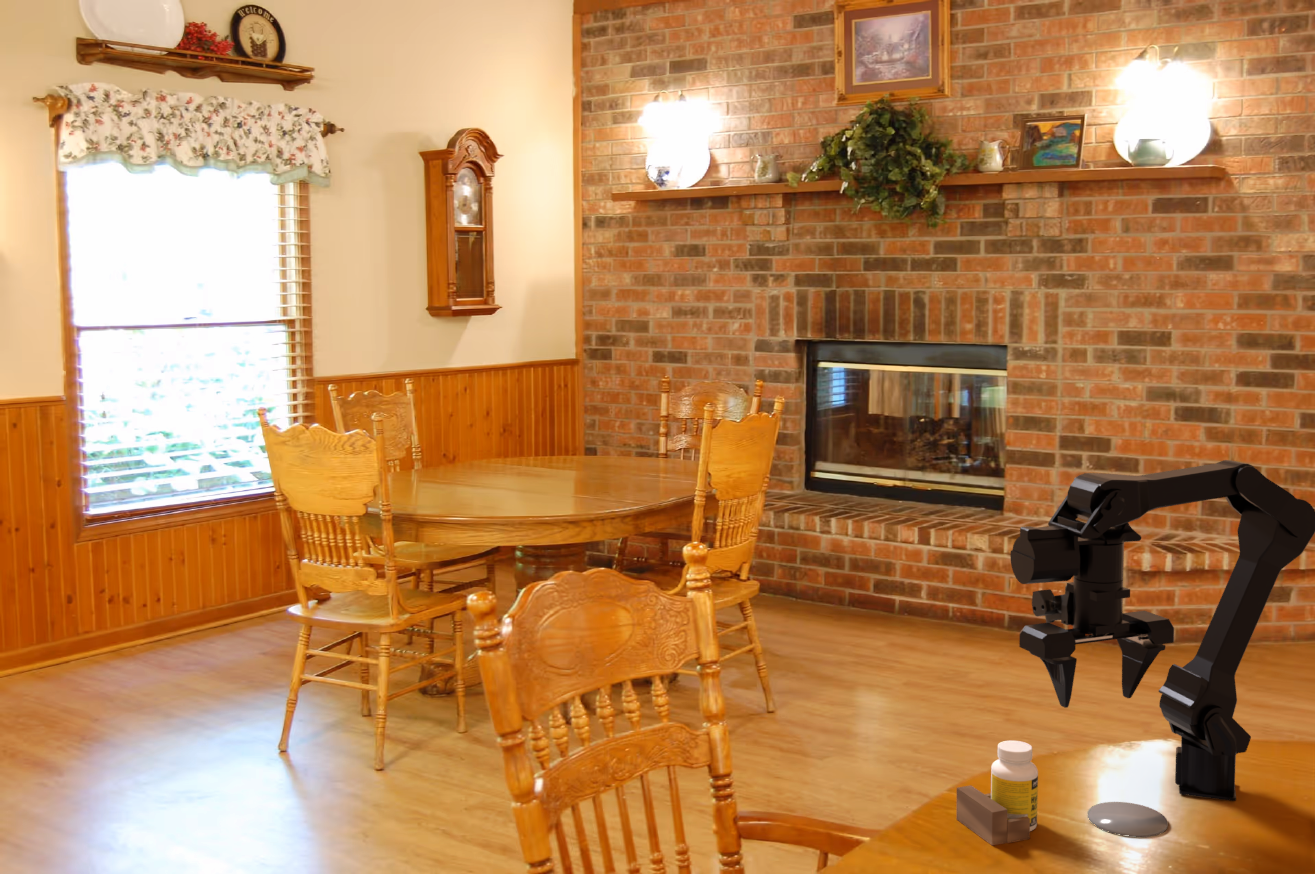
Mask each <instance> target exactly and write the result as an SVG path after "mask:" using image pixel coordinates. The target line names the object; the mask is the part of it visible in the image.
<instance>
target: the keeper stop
mask: <svg viewBox="0 0 1315 874" xmlns="http://www.w3.org/2000/svg"><path fill="white" fill-rule="evenodd" d="M956 820H957V821H958V822H960V823H961V824H962V825H964V826H965V827H966V828H968V829H969V830H970V831H972V832H973V833H974V834H976V835H977V836H979V838H981V839H983V840H984V841H985V842H987V843H988V844H990V846H997V845H1002V844H1003V845H1004V844H1010V843H1015V842H1019V841H1026V840H1030V834H1031V833H1030V832H1031V831H1030V818H1028V817H1027V816H1026V817H1021V818H1015V819H1010V820H1007V809H1005V808H1004V807H1002V806H1001V805H1000V804H998V803H997V802H995V801H994V800H992V799H991V792H990V793H983V792H982V791H980V790H978V789H977V788H975V787H974V786H973V785H965V786H964V785H963V786H960V787H959V786H957V787H956Z"/></svg>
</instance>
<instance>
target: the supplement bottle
mask: <svg viewBox="0 0 1315 874" xmlns="http://www.w3.org/2000/svg"><path fill="white" fill-rule="evenodd" d="M997 758H998V759H996V760H995V761H993V762H992V763H991V767H990V769H991V771H990V774H991V775H990V793H991V799H992V800H994V801H995V802H997V803H998V804H1000V805H1001V806H1002V807H1004V808H1005V809H1007V820H1010V819H1015V818H1021V817H1026V816H1027V817H1028V818H1030V832H1032V831H1033V830H1035V829H1036V828H1037V825H1038V797H1039V796H1038V791H1039V789H1038V788H1039V787H1038V786H1039V770H1038V767H1037V766H1036V764H1035V763H1033V762H1032V760H1033V746H1032V745H1031V744H1030V743H1027V742H1025V741H1022V740H1021V741H1020V740H1010V739H1009V740H1004V741H1001V742H999V743H998V744H997Z"/></svg>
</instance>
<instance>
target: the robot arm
mask: <svg viewBox="0 0 1315 874" xmlns="http://www.w3.org/2000/svg"><path fill="white" fill-rule="evenodd" d="M1221 498H1225V500H1226V502H1227V503H1228V505H1229V506H1230V507H1231V508H1232V509H1233V510H1234V511H1235V512H1236V513H1238V514H1239V515H1240V520H1239V524H1238V528H1237V538H1238V548H1239V556H1238V558H1237V560H1236V562H1235V565H1234V566H1233V567H1234V568H1233V569H1232V571H1231V574H1230V576H1229V578H1228V581H1227V584H1226V586H1225V588H1224V590H1223V592H1222V594H1221V597H1220V599H1219V601H1218V604H1217V606H1216V609H1215V611H1214V613H1213V616H1212V618H1211V620H1210V622H1209V625H1208V627H1207V630H1206V631H1205V634H1204V636H1203V638H1202V641H1201V642H1200V644H1199V647H1198V649H1197V651H1196V653H1195V656H1194V657H1193V658H1192V659H1191V660H1190V661H1189V662H1188V663H1186V664H1184V666H1183V667H1182V666H1179V665H1177V664H1175V663H1173V664H1172V665H1171V666H1170V667H1169V669H1168V672H1167V675H1166V679H1165V681H1164V683H1163V685H1162V686H1161V687H1160V689H1158V693H1160V694H1161V696H1160V700H1159V708H1160V710H1161V714H1162V716H1163V718H1164V719H1165V720H1166V721H1167V722H1168V724H1169V726H1170V730H1171V733H1173V734H1175V735H1178V736H1180V737H1181V739H1180V740H1181V741H1180V742H1181V743H1180V746H1176V747H1175V769H1174V770H1175V776H1174V778H1175V779H1174V781H1175V782H1174V783H1175V784H1176V785H1178V794H1179V795H1182V796H1191V797H1198V798H1204V799H1205V798H1207V799H1214V800H1221V801H1230V802H1235V801H1236V800H1237V795H1236V794H1237V793H1236V785H1235V784H1236V781H1235V780H1236V758H1237V757H1236V756H1237V755H1238V754H1241V753H1246V752H1247V751H1248V747H1249V745H1250V742H1251V738H1252V737H1251V734H1249V733H1248V731H1247V730H1245V729H1244V728H1243V727H1242V726H1241V725H1240V723H1238V722H1237V720H1235V719H1234V718H1233V717H1234V714H1235V711H1236V707H1237V703H1238V697H1237V688H1236V687H1237V686H1236V679H1235V678H1236V672H1237V670H1238V669H1239V665H1240V664H1241V662H1242V659H1243V657H1244V655H1245V652H1246V650H1247V648H1248V645H1249V643H1250V641H1251V638H1252V636H1253V634H1254V632H1255V630H1256V627H1257V626H1258V623H1259V621H1260V618H1261V616H1262V613H1263V612H1264V609H1265V607H1266V604H1267V602H1268V599H1269V598H1270V595H1271V593H1272V591H1273V588H1274V586H1275V584H1276V582H1277V579H1278V577H1279V576H1280V575H1279V574H1280V572H1281V571H1282V570H1283V569H1284V568H1285V567H1287V566H1288V565H1289V564H1290V563H1292V562H1293V561H1294V560H1296V558H1298V557H1300V555H1302V554H1303V553H1304V551H1305V550H1306V548H1307V546H1308V545H1309V543H1310V542H1311V540H1312V538H1313V537H1314V535H1315V508H1314V507H1313V505H1312V504H1311V503H1309V502H1308V501H1307V500H1304V499H1301V498H1297V497H1295V495H1293V494H1292V493H1291V492H1289V491H1287V490H1285V488H1283V487H1281V486H1280V485H1278V484H1277V483H1275V482H1274V481H1272V480H1271V479H1269V478H1267V477H1266V476H1265V475H1264V474H1263V473H1262V472H1260V470H1258V468H1256V467H1255V466H1254V465H1252V464H1251V463H1245V462H1241V461H1237V460H1232V459H1224V460H1221V461H1219V462H1216V463H1211V464H1205V465H1199V466H1192V467H1187V468H1186V467H1185V468H1180V469H1172V470H1166V471H1160V472H1155V473H1148V474H1142V475H1130V474H1129V475H1127V474H1120V473H1101V472H1100V473H1098V472H1084V473H1082V474H1078V475H1077V476H1075V477H1074V478H1073V482H1072V483H1070V485H1069V488H1068V491H1067V495H1066V496H1065V497H1064V499H1063V501H1062V502H1061V504H1060V505H1059V507H1058V508H1057V509H1056V511H1054V514H1053V516H1052V517H1051V518H1050V520H1049V521H1048V523H1047V524H1048V526H1038V527H1037V526H1029V525H1028V526H1026V525H1025V526H1021V527H1020V528H1019V537H1017V538H1015V539H1016V540H1014V542H1013V545H1012V549H1011V550H1010V555H1009V556H1010V564H1011V569H1012V573H1013V575H1014V577H1015V579H1016V580H1017V581H1018V582H1019V583H1020V584H1022V585H1030V584H1031V585H1033V584H1040V583H1041V584H1045V583H1046V584H1047V583H1057V582H1066V585H1065V588H1064V589H1065V590H1064V594H1060V595H1059V594H1058V595H1055V594H1054V593H1053V591H1052V589H1048V588H1047V589H1042V590H1041V589H1040V590H1035V591H1032V598H1031V608H1032V612H1033V615H1034V616H1035V617H1043V616H1044V617H1045V621H1046V622H1042V623H1035V624H1027V625H1024V627H1022V629H1021V630H1020V631H1019V640H1018V641H1019V642H1018V644H1019V645H1018V647H1019V648H1021V649H1022V650H1025V651H1028V652H1029V654H1030V655H1031V656H1032V655H1033V656H1035V657H1037V658H1039V659H1040V660H1041V662H1042V663H1043V664H1044V666H1045V668H1046V670H1047V672H1048V675H1049V677H1050V681H1051V682H1052V685H1053V688H1054V691H1055V694H1056V696H1057V699H1058V703H1059V705H1060V706H1061V707H1062V708H1065V709H1067V708H1069V706H1070V701H1071V699H1072V693H1073V686H1074V680H1075V673H1076V667H1077V661H1078V659H1077V658H1076V657H1074V656H1072V655H1073V653H1075V650H1076V646H1077V645H1082V644H1090V643H1096V642H1105V641H1112V640H1116V641H1117V643H1118V645H1119V648H1120V650H1121V651H1120V652H1121V691H1122V696H1123V697H1124V698H1126V699H1131V698H1132V697H1133V695H1134V694H1135V692H1136V690H1137V688H1138V686H1139V685H1140V683H1141V681H1142V679H1143V678H1144V677H1145V675H1146V673H1147V671H1148V670H1149V668H1150V666H1151V665H1152V664H1153V662H1154V660H1156V658H1157V657H1158V655H1159V653H1160V652H1163V651H1165V650H1166V648H1167V647H1166V645H1165V644H1173V643H1174V642H1175V627H1174V626H1173V625H1174V624H1173V623H1172V622H1171V620H1170V618H1167V617H1165V616H1161V615H1158V614H1156V613H1153V612H1150V611H1147V610H1140V611H1139V610H1138V611H1131V612H1125V613H1124V612H1123V611H1124V610H1123V609H1124V606H1123V605H1124V604H1123V603H1124V599H1128V598H1131V589H1130V588H1127V587H1125V586H1124V568H1125V567H1124V566H1125V564H1124V563H1125V556H1124V555H1125V543H1128V542H1129V543H1130V542H1131V543H1132V542H1133V543H1134V542H1140V541H1142V536H1141V535H1140V534H1139V533H1138V532H1137V531H1136V530H1135V529H1134V528H1132V526H1131V525H1130V523H1131V522H1133V521H1136V520H1138V519H1141V518H1142V517H1144V516H1145V515H1146V514H1147V513H1148V512H1150V511H1154V510H1157V509H1160V508H1167V507H1172V506H1179V505H1187V504H1191V503H1197V502H1202V501H1210V500H1214V499H1221ZM1078 518H1080V519H1082V520H1084V521H1086V522H1084V521H1081V520H1078ZM1072 579H1073V581H1072V582H1069V581H1070V580H1072ZM1060 620H1061V624H1063V625H1065V626H1072V628H1068V629H1067V628H1063V627H1060V626H1058V625H1056V624H1053V623H1054V622H1055V621H1060Z"/></svg>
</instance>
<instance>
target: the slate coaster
mask: <svg viewBox="0 0 1315 874" xmlns="http://www.w3.org/2000/svg"><path fill="white" fill-rule="evenodd" d="M1087 810H1088V811H1087V819H1088V818H1089V820H1090V821H1091V822H1092V823H1093V824H1095V825H1096V826H1097V827H1096V826H1095V827H1096V828H1098V827H1099V828H1098V829H1100V830H1102V829H1103V830H1102V831H1103V832H1104V831H1105V832H1107V831H1109V832H1108V833H1110V832H1111V833H1110V834H1113V833H1116V834H1115V835H1117V834H1120V835H1119V836H1123V835H1129V836H1128V837H1130V836H1136V837H1135V838H1144V837H1145V838H1146V837H1154V836H1157V835H1161V834H1163V833H1164V832H1165V831H1166V830H1167V829H1168V819H1167V817H1166V816H1165V815H1164V814H1163V813H1161V812H1159V811H1158V810H1156V809H1154V808H1151V807H1149V806H1145V805H1141V804H1138V803H1133V802H1126V801H1107V802H1106V801H1105V802H1100V803H1097V804H1095V805H1093V806H1091V807H1090V808H1089V809H1087ZM1089 820H1088V821H1089ZM1090 821H1089V822H1090ZM1091 822H1090V823H1091ZM1092 823H1091V824H1092ZM1093 824H1092V825H1093ZM1160 833H1161V834H1160Z"/></svg>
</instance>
